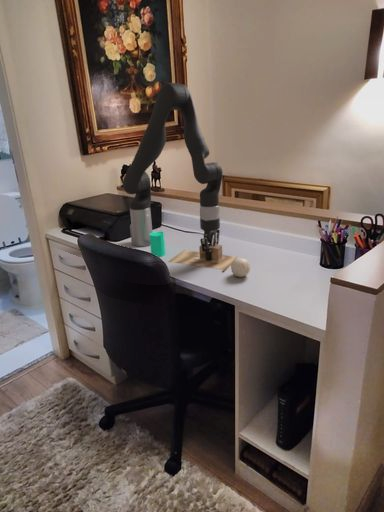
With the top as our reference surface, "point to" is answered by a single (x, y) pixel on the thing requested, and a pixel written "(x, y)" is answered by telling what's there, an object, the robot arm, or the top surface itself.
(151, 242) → the candle
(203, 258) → the block
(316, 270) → the top surface
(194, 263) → the board
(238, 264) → the baseball
